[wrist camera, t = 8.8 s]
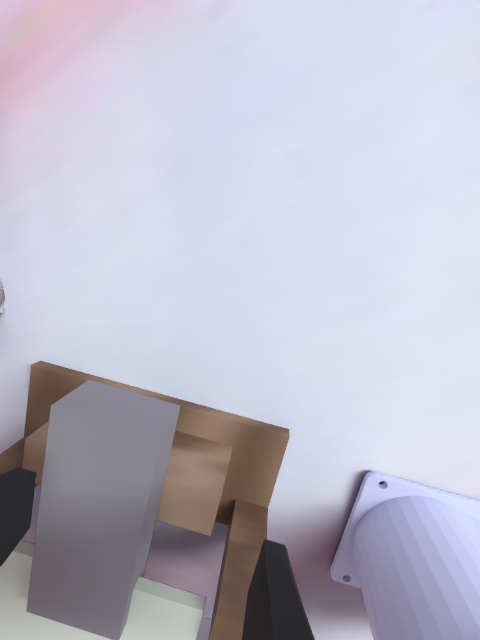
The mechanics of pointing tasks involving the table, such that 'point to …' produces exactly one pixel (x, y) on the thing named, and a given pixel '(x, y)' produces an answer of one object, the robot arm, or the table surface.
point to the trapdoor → (98, 527)
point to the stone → (1, 299)
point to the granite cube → (204, 629)
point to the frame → (187, 478)
